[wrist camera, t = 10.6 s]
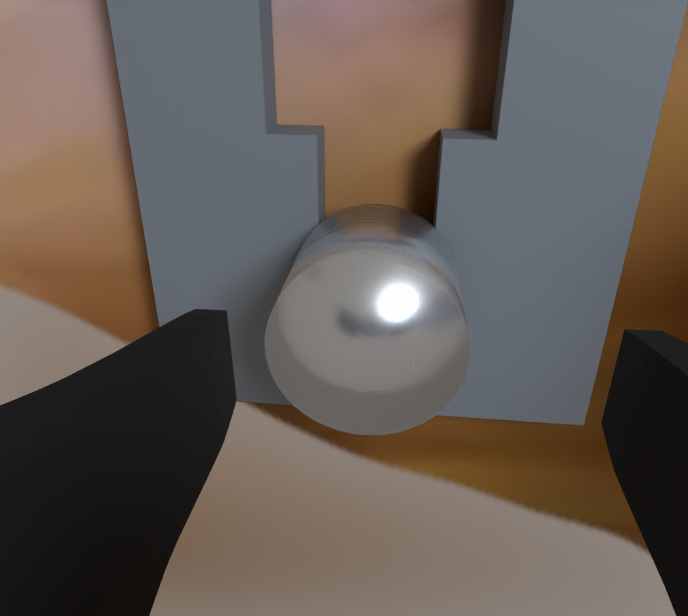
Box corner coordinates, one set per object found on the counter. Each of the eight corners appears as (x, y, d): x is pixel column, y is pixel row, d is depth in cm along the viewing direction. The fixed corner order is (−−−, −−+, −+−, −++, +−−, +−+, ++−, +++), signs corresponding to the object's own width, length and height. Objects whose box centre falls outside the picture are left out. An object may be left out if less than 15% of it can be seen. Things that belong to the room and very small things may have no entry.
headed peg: (462, 192, 19) (482, 266, 13) (446, 332, 21) (457, 442, 16) (302, 184, 19) (259, 252, 14) (304, 323, 21) (268, 427, 16)
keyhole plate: (719, -236, 13) (752, -262, 12) (573, 399, 22) (583, 425, 20) (98, -216, 15) (67, -239, 13) (184, 374, 23) (170, 396, 22)
